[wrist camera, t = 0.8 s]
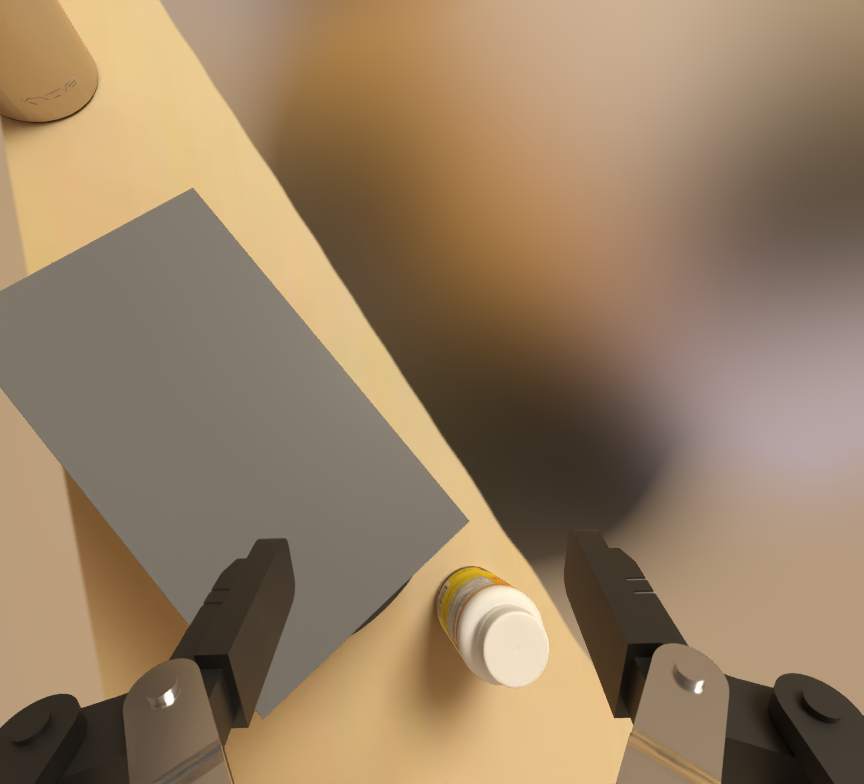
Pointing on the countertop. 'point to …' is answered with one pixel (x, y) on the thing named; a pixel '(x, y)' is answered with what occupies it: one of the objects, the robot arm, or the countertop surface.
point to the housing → (218, 428)
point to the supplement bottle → (493, 627)
